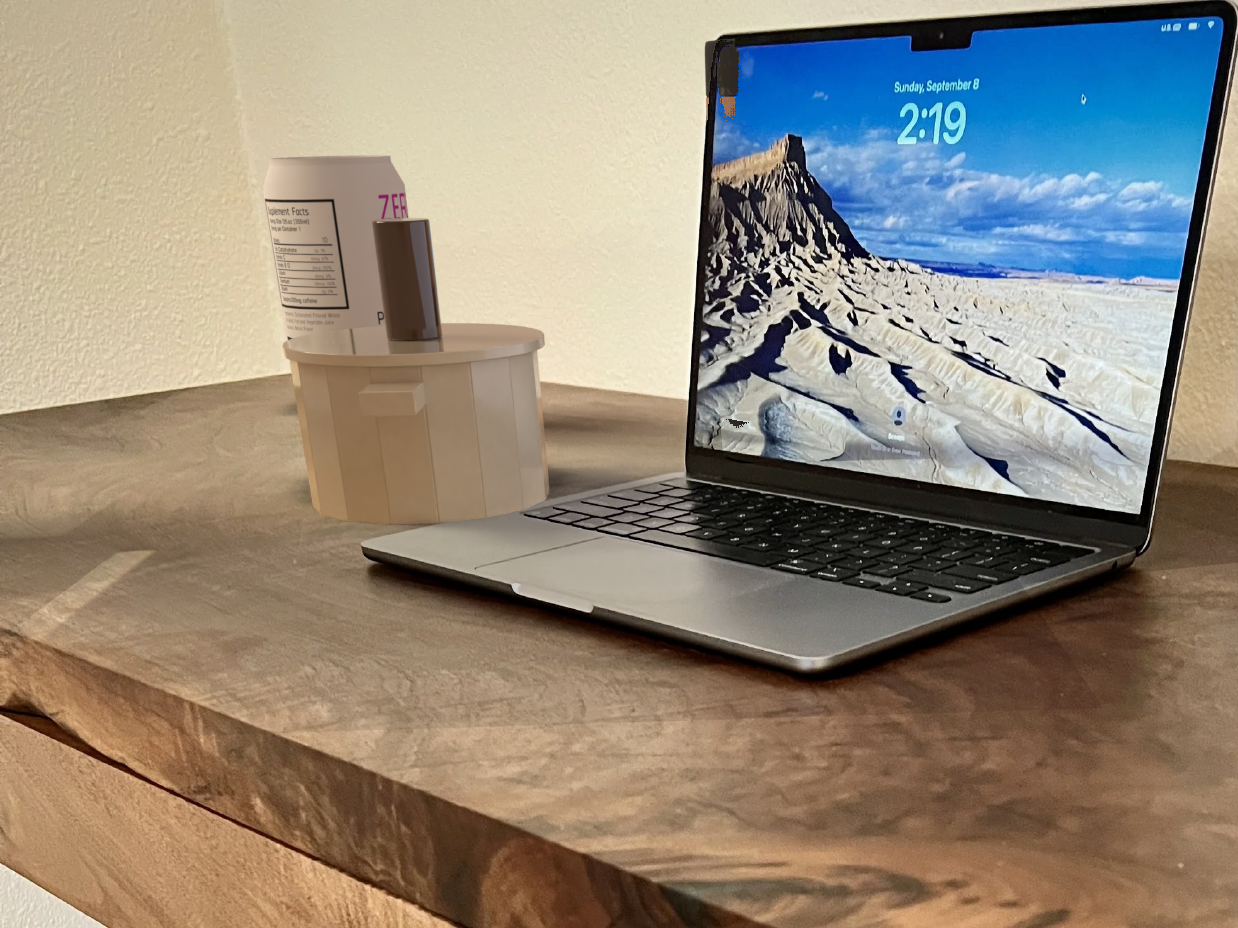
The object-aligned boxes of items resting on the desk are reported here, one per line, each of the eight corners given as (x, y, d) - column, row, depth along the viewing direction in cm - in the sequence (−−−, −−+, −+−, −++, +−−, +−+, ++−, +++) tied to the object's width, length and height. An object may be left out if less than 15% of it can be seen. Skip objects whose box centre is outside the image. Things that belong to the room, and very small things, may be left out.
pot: (280, 552, 73) (250, 377, 69) (351, 479, 87) (329, 331, 84) (532, 545, 73) (516, 370, 69) (561, 473, 88) (549, 326, 84)
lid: (258, 384, 71) (232, 230, 68) (316, 349, 82) (295, 214, 79) (533, 377, 72) (520, 224, 69) (556, 343, 82) (545, 209, 79)
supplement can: (298, 420, 105) (256, 157, 97) (426, 412, 107) (394, 153, 99) (304, 440, 98) (259, 160, 91) (441, 431, 100) (407, 155, 93)
